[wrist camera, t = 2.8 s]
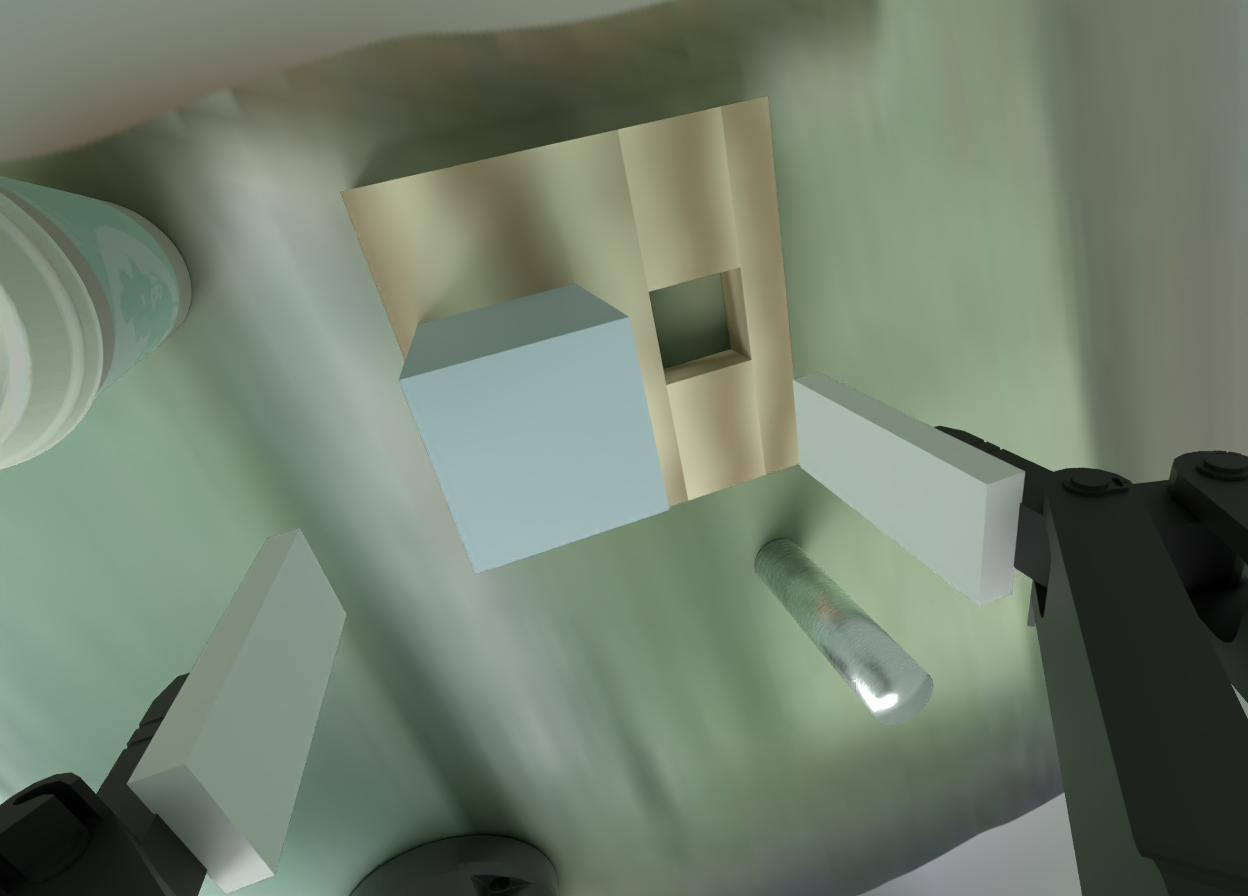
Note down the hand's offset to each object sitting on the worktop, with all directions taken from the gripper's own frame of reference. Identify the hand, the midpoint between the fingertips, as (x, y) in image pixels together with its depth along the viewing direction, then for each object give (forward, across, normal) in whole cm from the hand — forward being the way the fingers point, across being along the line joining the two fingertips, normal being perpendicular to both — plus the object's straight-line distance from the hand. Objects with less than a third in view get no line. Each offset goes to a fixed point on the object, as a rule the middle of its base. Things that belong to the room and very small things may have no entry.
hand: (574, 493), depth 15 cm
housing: (+13, 0, 0) cm, 13 cm away
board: (+15, +4, 0) cm, 16 cm away
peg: (+15, +12, -17) cm, 26 cm away
